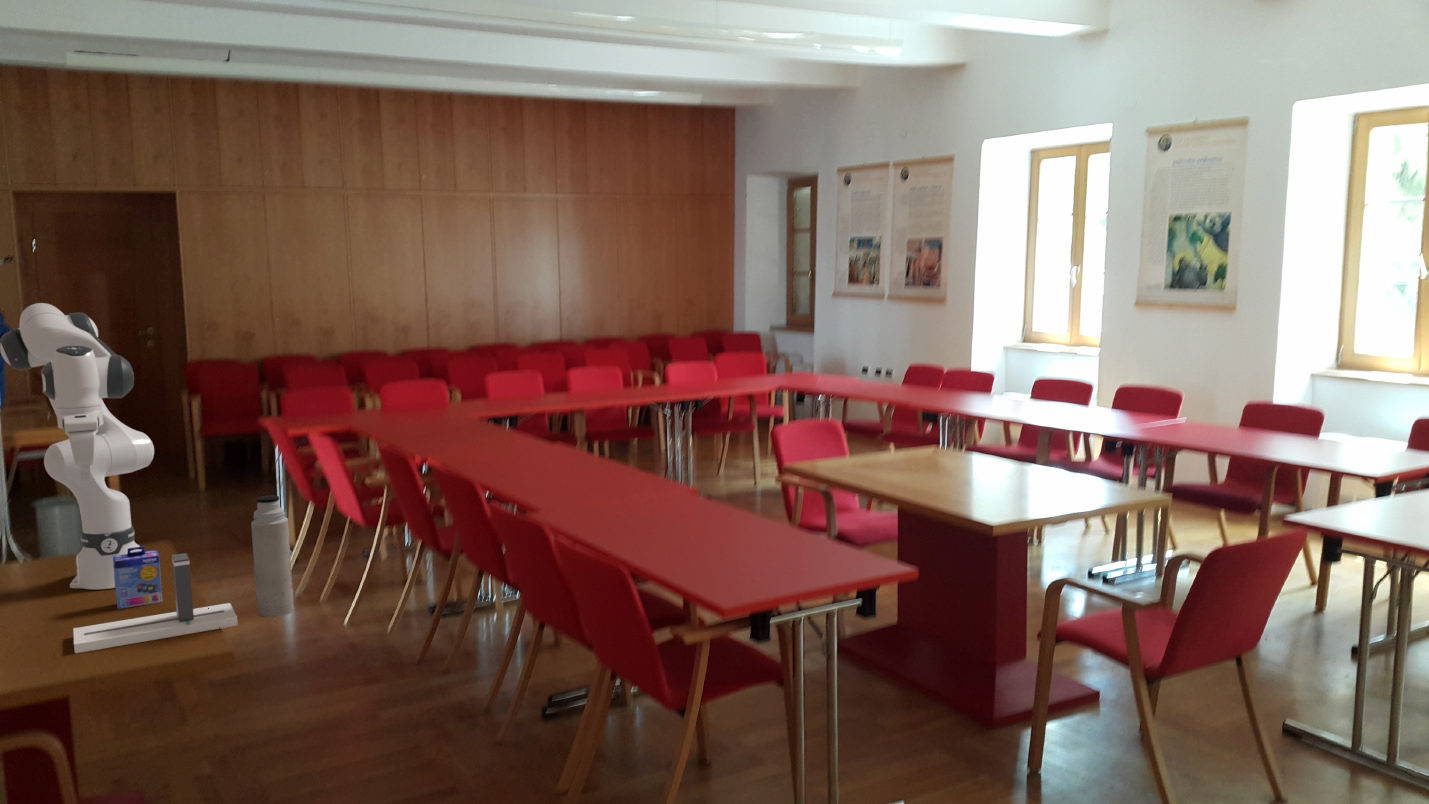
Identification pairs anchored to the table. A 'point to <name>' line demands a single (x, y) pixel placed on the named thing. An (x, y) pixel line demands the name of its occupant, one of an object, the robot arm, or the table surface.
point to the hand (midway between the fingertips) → (85, 478)
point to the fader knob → (182, 587)
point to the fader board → (152, 628)
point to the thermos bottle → (272, 559)
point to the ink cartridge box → (137, 578)
